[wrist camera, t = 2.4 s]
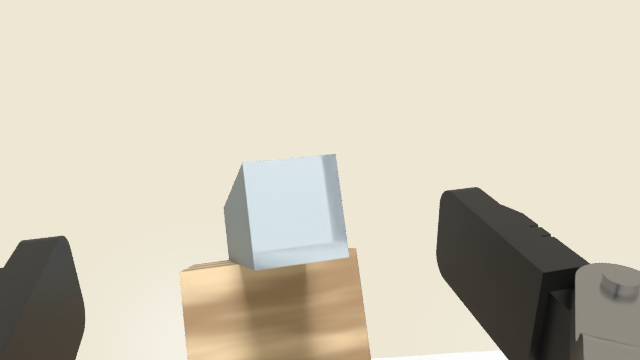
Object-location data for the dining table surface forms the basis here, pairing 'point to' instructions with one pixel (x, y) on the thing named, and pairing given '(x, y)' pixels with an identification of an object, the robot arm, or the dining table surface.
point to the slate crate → (286, 213)
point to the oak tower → (275, 311)
